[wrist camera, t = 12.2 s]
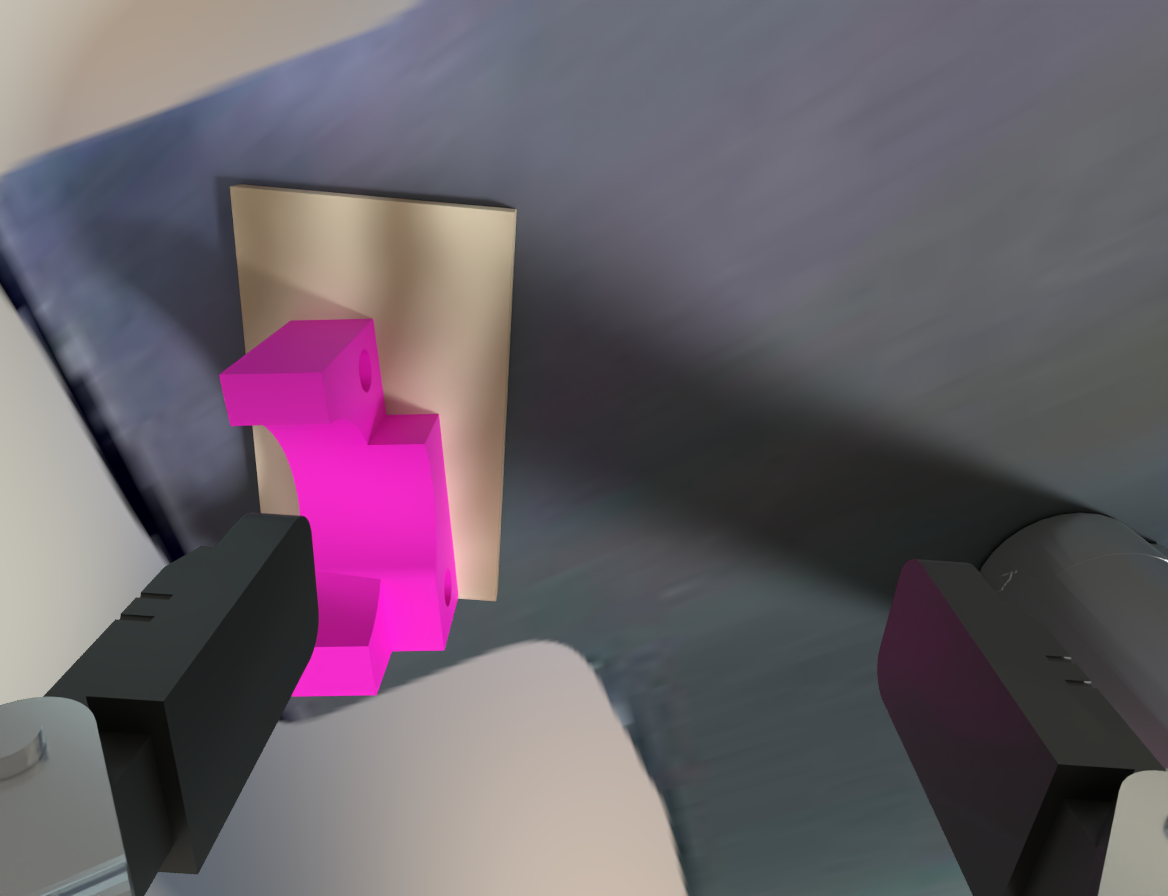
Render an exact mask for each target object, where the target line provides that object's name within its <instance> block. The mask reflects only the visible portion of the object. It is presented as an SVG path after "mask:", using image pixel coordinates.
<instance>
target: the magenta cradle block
mask: <svg viewBox="0 0 1168 896" xmlns="http://www.w3.org/2000/svg"><path fill="white" fill-rule="evenodd" d="M219 377H220V382H221V386H222V390H223V395H224V399H225V404H226V408H227V412H228V417H229V421H230V426H252V425H263V426H264V427H266V428H267V429H268V430H269V431H270V432H271V433H272V434H273V435H274V436H275V438H276V439H277V440H278V442H279V444H280V445H281V447H282V449H283V451H284V453H285V455H286V457H287V460H288V462H289V465H290V468H291V471H292V474H293V478H294V482H295V486H296V491H297V496H298V503H299V510H300V516H305V517H306V518H307V519H308V521H309V523H310V527H311V532H312V541H313V553H314V564H315V575H316V586H317V597H318V609H319V625H318V634H317V639H316V644H315V647H314V651H313V654H312V656H311V659H310V661H309V663H308V665H307V667H306V669H305V671H304V672H303V674H302V676H301V678H300V680H299V682H298V684H297V686H296V688H295V690H294V692H293V693H292V696H354V695H377V692H378V689H379V687H380V684H381V681H382V678H383V675H384V672H385V670H386V667H387V664H388V661H389V658H390V656H391V653H392V651H435V650H445V646H446V642H447V638H448V634H449V630H450V627H451V623H452V619H453V615H454V611H455V607H456V604H457V600H458V596H459V594H458V585H457V576H456V567H455V557H454V548H453V539H452V530H451V520H450V511H449V502H448V493H447V483H446V474H445V465H444V456H443V446H442V437H441V428H440V419H439V414H405V415H386V408H385V400H384V393H383V386H382V379H381V371H380V364H379V357H378V350H377V342H376V335H375V328H374V321H373V319H337V320H292V321H289V322H288V323H287V324H285V325H284V326H283V327H281V328H280V329H279V330H277V331H276V332H275V333H273V334H272V335H271V336H269V337H268V338H267V339H265V340H264V341H263V342H261V343H260V344H259V345H257V346H256V347H255V348H254V349H252V350H251V351H250V352H248V353H247V354H246V355H244V356H243V357H242V358H240V359H239V360H238V361H236V362H235V363H234V364H232V365H231V366H230V367H228V368H227V369H226V370H224V371H223V372H222V373H220V374H219Z"/></svg>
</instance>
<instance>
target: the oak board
mask: <svg viewBox="0 0 1168 896" xmlns="http://www.w3.org/2000/svg"><path fill="white" fill-rule="evenodd" d="M230 194H231V204H232V215H233V225H234V236H235V246H236V257H237V267H238V278H239V288H240V299H241V309H242V320H243V331H244V341H245V352H246V354H247V353H248V352H250V351H251V350H252V349H254V348H255V347H256V346H257V345H259V344H260V343H261V342H263V341H264V340H265V339H267V338H268V337H269V336H271V335H272V334H273V333H275V332H276V331H277V330H279V329H280V328H281V327H283V326H284V325H285V324H287V323H288V322H289V321H292V320H337V319H373V321H374V328H375V335H376V342H377V350H378V357H379V364H380V371H381V379H382V386H383V393H384V400H385V408H386V415H405V414H439V419H440V428H441V437H442V446H443V456H444V465H445V474H446V483H447V493H448V502H449V511H450V520H451V530H452V539H453V548H454V557H455V567H456V576H457V585H458V594H459V596H458V598H461V599H474V600H487V601H496V597H497V592H498V575H499V555H500V534H501V514H502V494H503V474H504V454H505V433H506V413H507V393H508V373H509V352H510V332H511V312H512V292H513V272H514V251H515V231H516V211H517V209H509V208H498V207H487V206H476V205H465V204H454V203H443V202H432V201H421V200H410V199H399V198H388V197H377V196H366V195H355V194H344V193H333V192H321V191H310V190H299V189H288V188H277V187H266V186H255V185H244V184H238V185H234V186H230ZM253 436H254V446H255V457H256V467H257V478H258V488H259V499H260V509H261V513H268V514H283V515H298V516H300V510H299V503H298V496H297V491H296V486H295V482H294V478H293V474H292V471H291V468H290V465H289V462H288V460H287V457H286V455H285V453H284V451H283V449H282V447H281V445H280V444H279V442H278V440H277V439H276V438H275V436H274V435H273V434H272V433H271V432H270V431H269V430H268V429H267V428H266V427H264V426H263V425H253Z"/></svg>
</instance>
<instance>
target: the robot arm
mask: <svg viewBox="0 0 1168 896" xmlns="http://www.w3.org/2000/svg"><path fill="white" fill-rule="evenodd" d="M318 625H319V609H318V597H317V586H316V575H315V564H314V553H313V541H312V532H311V527H310V523H309V521H308V519H307V518H306V517H305V516H298V515H283V514H268V513H254V512H248V513H245V514H244V515H242V516H241V517H240V519H239V520H238V521H237V522H236V523H235V524H234V525H233V527H232V528H231V529H230V530H229V531H228V532H227V534H226V535H225V536H224V537H223V538H222V539H221V540H220V542H219V543H218V544H217V545H216V546H215V547H206V546H201V547H199V548H197V549H195V550H194V551H192V552H190V553H188V554H187V555H185V556H183V557H181V558H180V559H178V560H176V561H174V562H173V563H171V564H169V565H167V566H166V567H164V568H163V569H162V570H161V572H160V573H159V574H158V575H157V576H156V577H155V578H154V579H153V580H152V581H151V582H150V583H149V584H148V585H147V586H146V588H145V589H144V590H143V591H142V592H141V597H140V598H135V600H133V601H132V602H131V604H130V605H129V606H128V607H127V608H126V609H125V610H124V611H123V612H122V613H121V618H120V620H115V621H114V622H113V623H112V624H111V625H110V626H109V627H108V628H107V629H106V630H105V631H104V632H103V634H101V636H100V637H99V638H98V639H97V640H96V641H95V642H94V643H93V644H92V645H91V646H90V647H89V648H88V650H87V651H86V652H85V653H84V654H83V655H82V656H81V657H80V658H79V659H78V660H77V661H76V662H75V663H74V664H73V665H72V667H71V668H70V669H69V670H68V671H67V672H66V673H65V674H64V675H63V676H62V677H61V678H60V679H59V680H58V682H57V683H56V684H55V685H54V686H53V687H52V688H51V689H50V690H49V691H48V692H47V693H46V694H45V695H44V696H43V697H36V698H29V699H23V700H18V701H14V702H10V703H6V704H3V705H0V896H144V895H145V893H146V892H147V890H148V888H149V887H150V885H151V883H152V881H153V879H154V878H155V876H156V874H157V873H158V872H171V873H185V874H198V873H199V871H200V869H201V867H202V865H203V864H204V862H205V860H206V858H207V856H208V854H209V852H210V850H211V848H212V846H213V844H214V842H215V841H216V839H217V837H218V835H219V833H220V831H221V829H222V827H223V825H224V823H225V821H226V819H227V818H228V816H229V814H230V812H231V810H232V808H233V806H234V804H235V802H236V800H237V798H238V797H239V795H240V793H241V791H242V789H243V787H244V785H245V783H246V781H247V779H248V778H249V776H250V774H251V772H252V770H253V768H254V766H255V764H256V762H257V760H258V758H259V757H260V754H261V753H262V751H263V749H264V747H265V745H266V743H267V741H268V739H269V737H270V735H271V734H272V732H273V730H274V728H275V726H276V724H277V722H278V720H279V718H280V716H281V714H282V713H283V711H284V709H285V707H286V705H287V703H288V701H289V699H290V697H291V695H292V693H293V692H294V690H295V688H296V686H297V684H298V682H299V680H300V678H301V676H302V674H303V672H304V671H305V669H306V667H307V665H308V663H309V661H310V659H311V656H312V654H313V651H314V647H315V644H316V639H317V634H318ZM877 675H878V685H879V690H880V694H881V697H882V700H883V702H884V704H885V707H886V709H887V711H888V713H889V715H890V717H891V720H892V722H893V724H894V726H895V728H896V730H897V732H898V735H899V737H900V739H901V741H902V743H903V745H904V748H905V750H906V752H907V754H908V756H909V758H910V761H911V763H912V765H913V767H914V769H915V771H916V773H917V776H918V778H919V780H920V782H921V784H922V786H923V789H924V791H925V793H926V795H927V797H928V799H929V802H930V804H931V806H932V808H933V810H934V812H935V815H936V817H937V819H938V821H939V823H940V825H941V827H942V830H943V832H944V834H945V836H946V838H947V840H948V843H949V845H950V847H951V849H952V851H953V853H954V856H955V858H956V860H957V862H958V864H959V866H960V869H961V871H962V873H963V875H964V877H965V879H966V881H967V884H968V886H969V888H970V890H971V892H972V894H973V896H1168V549H1166V548H1165V547H1164V546H1162V545H1158V544H1150V543H1148V542H1147V541H1146V540H1145V539H1143V538H1142V537H1141V536H1140V535H1138V534H1137V533H1136V532H1135V531H1133V530H1132V529H1131V528H1129V527H1128V526H1126V525H1124V524H1123V523H1121V522H1119V521H1118V520H1116V519H1113V518H1110V517H1106V516H1103V515H1100V514H1090V513H1073V514H1062V515H1058V516H1054V517H1051V518H1047V519H1043V520H1041V521H1038V522H1036V523H1034V524H1032V525H1029V526H1027V527H1025V528H1023V529H1022V530H1020V531H1019V532H1017V533H1015V534H1014V535H1012V536H1011V537H1009V538H1008V539H1007V540H1006V541H1004V542H1003V543H1002V544H1001V545H1000V546H999V547H998V548H997V549H996V550H995V551H994V552H993V553H992V554H991V555H990V557H989V558H988V559H987V561H986V562H985V563H984V565H983V566H982V568H981V570H980V572H979V571H978V570H977V569H976V568H975V567H974V566H973V565H972V564H970V563H966V562H951V561H937V560H922V559H911V560H909V561H907V562H906V563H905V565H904V566H903V568H902V571H901V573H900V576H899V580H898V584H897V587H896V591H895V595H894V598H893V602H892V606H891V609H890V613H889V617H888V620H887V624H886V628H885V631H884V635H883V639H882V642H881V646H880V650H879V654H878V664H877Z"/></svg>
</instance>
